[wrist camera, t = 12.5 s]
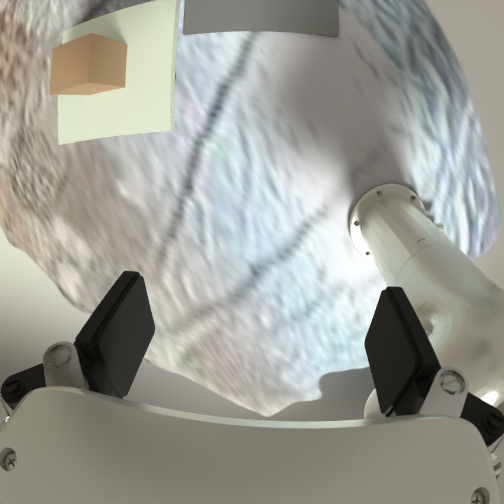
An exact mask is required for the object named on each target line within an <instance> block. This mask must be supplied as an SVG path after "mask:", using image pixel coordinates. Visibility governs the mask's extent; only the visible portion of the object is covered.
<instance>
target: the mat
mask: <svg viewBox="0 0 504 504" xmlns="http://www.w3.org/2000/svg"><path fill="white" fill-rule="evenodd" d="M229 31H277V32H294V33H306V34H316V35H324V36H331V37H338V0H185V16H184V35H190V34H200V33H212V32H229Z"/></svg>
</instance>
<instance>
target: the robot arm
mask: <svg viewBox="0 0 504 504" xmlns="http://www.w3.org/2000/svg"><path fill="white" fill-rule="evenodd" d="M378 191H379V193H377V192H378ZM355 221H356V222H355ZM442 230H443V226H442V224H441V223H433V222H432V221H431V220H430V219H429V218H428V217H427V216H426V213H425V209H424V206H423V203H422V201H421V200H420V198H419V197H418V196H417V195H416V194H415V193H414V192H413V191H412V190H410V189H409V188H407V187H405V186H402V185H399V184H383V185H380V186H377V187H375V188H373V189H371V190H370V191H368V192H367V193H366V194H364V195H363V196H362V197H361V199H360V200H359V201H358V202H357V204H356V206H355V207H354V209H353V212H352V214H351V218H350V235H351V239H352V241H353V244H354V246H355V247H356V249H357V250H358V251H359V253H360V254H361V255H362V256H364V257H365V258H367V259H369V260H371V261H374V262H375V263H376V265H377V267H378V269H379V271H380V273H381V275H382V277H383V279H384V281H385V283H386V285H387V288H386V290H383V291H382V292H381V295H380V298H379V301H378V304H377V307H376V310H375V313H374V316H373V319H372V322H371V324H370V327H369V330H368V333H367V335H366V338H365V350H366V353H367V357H368V361H369V365H370V369H371V373H372V376H373V380H374V385H375V389H374V390H373V392H372V393H371V395H370V396H369V398H368V400H367V402H366V405H365V410H364V419H362V420H348V421H325V422H287V421H262V420H248V419H236V418H225V417H217V416H209V415H202V414H195V413H188V412H182V411H177V410H171V409H165V408H161V407H156V406H151V405H146V404H142V403H138V402H133V401H129V400H124V399H122V398H123V396H126V395H127V394H128V392H129V390H130V387H131V385H132V383H133V380H134V378H135V375H136V373H137V371H138V368H139V366H140V364H141V362H142V359H143V357H144V355H145V353H146V351H147V348H148V346H149V344H150V342H151V339H152V337H153V335H154V332H155V324H154V321H153V317H152V313H151V308H150V304H149V300H148V296H147V291H146V287H145V282H144V278H143V276H140V274H139V272H134V271H124V272H123V273H122V274H121V276H120V277H119V278H118V280H117V281H116V282H115V283H114V285H113V286H112V287H111V289H110V290H109V291H108V293H107V294H106V296H105V297H104V298H103V300H102V301H101V302H100V304H99V305H98V307H97V308H96V309H95V311H94V312H93V314H92V315H91V316H90V318H89V319H88V321H87V322H86V324H85V325H84V327H83V328H82V330H81V331H80V333H79V334H78V335H77V337H76V338H75V339H76V341H75V342H74V344H72V343H69V342H58V343H55V344H53V345H52V346H51V347H49V348H48V349H47V350H46V352H45V354H44V357H43V363H42V364H39V365H37V366H34V367H32V368H29V369H27V370H24V371H21V372H19V373H16V374H14V375H11V376H10V377H8V378H7V379H6V380H5V381H4V383H3V384H2V387H1V394H0V504H504V290H502V289H501V288H500V287H499V286H497V285H496V284H495V283H494V282H493V281H492V280H490V279H489V278H488V277H487V276H486V275H485V274H484V273H483V272H482V271H481V270H480V269H479V268H478V267H477V266H476V265H475V264H474V263H473V262H472V261H471V260H470V259H469V258H468V257H467V256H466V255H465V254H464V253H463V252H462V251H461V250H460V249H459V248H458V247H457V246H456V245H455V244H454V243H453V242H452V241H451V240H450V239H449V238H448V237H447V236H446V235H445V234H444V233H443V232H442ZM425 331H428V332H431V334H430V335H429V336H428V337H427V335H426V333H425Z"/></svg>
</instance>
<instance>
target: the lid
mask: <svg viewBox="0 0 504 504" xmlns="http://www.w3.org/2000/svg"><path fill="white" fill-rule="evenodd" d="M179 8H180V0H155V1H150V2H146V3H142V4H138V5H135V6H131V7H128V8H124V9H121V10H118V11H114V12H111V13H108V14H105V15H102V16H100V17H97V18H94V19H91V20H89V21H86V22H84V23H81V24H79V25H76V26H74V27H72V28H69V29H67V30H65V31H64V33H63V40H62V45H60V46H57V47H55V48H53V56H52V66H51V80H50V95H58V141H59V145H61V144H67V143H72V142H78V141H84V140H90V139H96V138H103V137H111V136H119V135H127V134H137V133H147V132H160V131H174V97H175V66H176V47H177V32H178V19H179Z"/></svg>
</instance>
